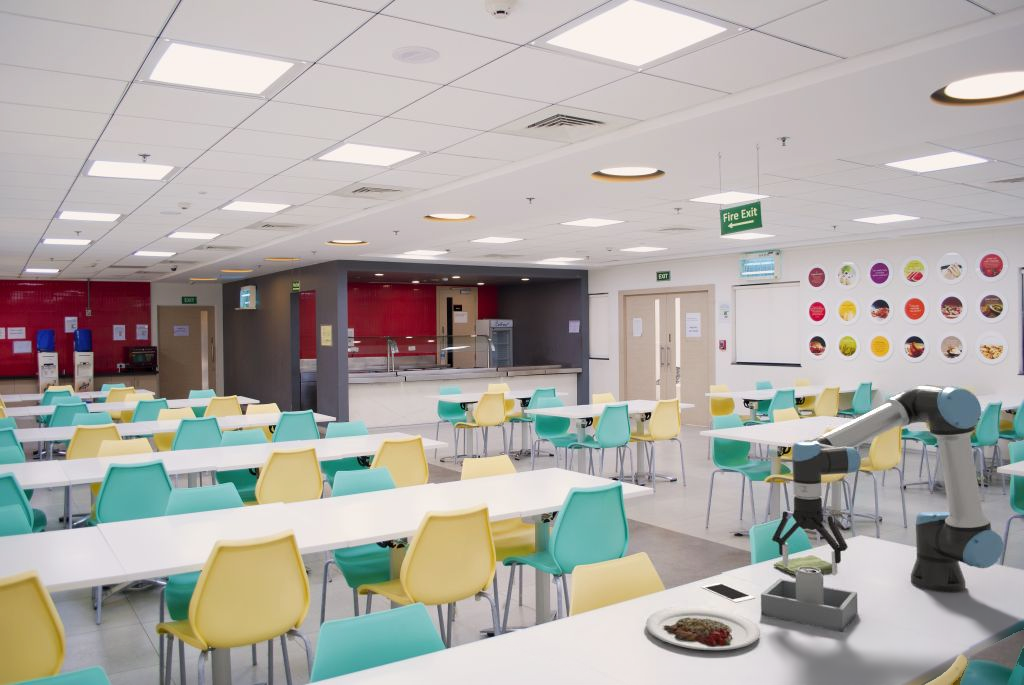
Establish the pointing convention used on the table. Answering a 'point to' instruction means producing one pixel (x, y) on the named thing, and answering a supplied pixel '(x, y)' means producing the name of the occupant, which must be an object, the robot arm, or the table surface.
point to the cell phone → (728, 592)
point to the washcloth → (805, 564)
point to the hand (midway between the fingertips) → (809, 570)
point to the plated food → (703, 628)
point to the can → (809, 585)
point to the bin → (809, 606)
